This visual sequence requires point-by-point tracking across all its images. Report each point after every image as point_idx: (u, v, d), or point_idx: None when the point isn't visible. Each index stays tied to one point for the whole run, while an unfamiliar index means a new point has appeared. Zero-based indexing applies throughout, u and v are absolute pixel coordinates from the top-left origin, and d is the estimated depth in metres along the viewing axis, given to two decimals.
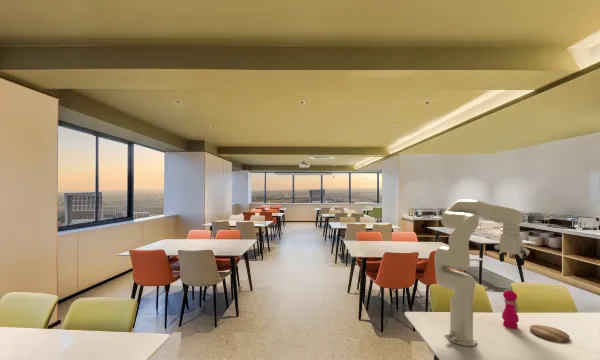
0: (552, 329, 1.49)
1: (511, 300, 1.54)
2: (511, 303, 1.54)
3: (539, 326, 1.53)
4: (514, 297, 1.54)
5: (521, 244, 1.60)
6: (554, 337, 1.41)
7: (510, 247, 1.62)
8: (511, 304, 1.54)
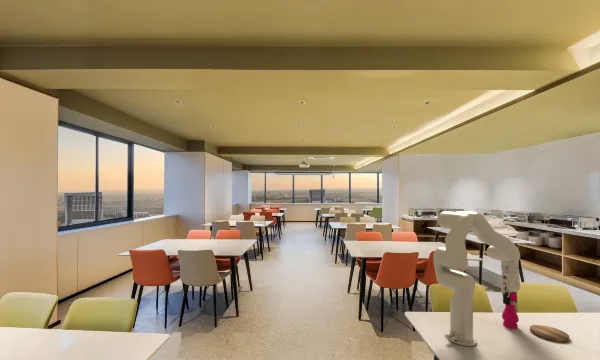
0: (552, 329, 1.49)
1: (511, 300, 1.54)
2: (511, 303, 1.54)
3: (539, 326, 1.53)
4: (514, 297, 1.54)
5: None
6: (554, 337, 1.41)
7: (516, 285, 1.55)
8: (511, 304, 1.54)
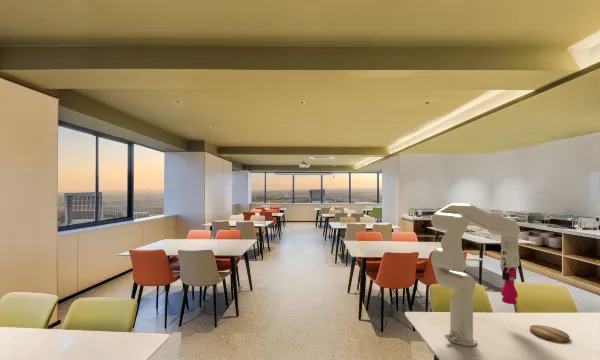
0: (552, 329, 1.49)
1: (510, 276, 1.55)
2: (510, 279, 1.55)
3: (539, 326, 1.53)
4: (513, 273, 1.54)
5: None
6: (554, 337, 1.41)
7: (515, 261, 1.55)
8: (510, 280, 1.55)
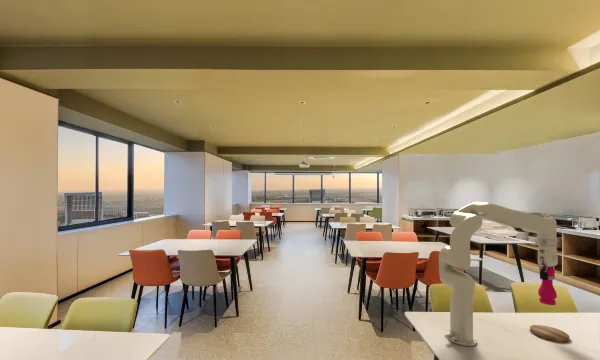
0: (552, 329, 1.49)
1: (549, 275, 1.46)
2: (549, 278, 1.46)
3: (539, 326, 1.53)
4: (552, 272, 1.46)
5: None
6: (554, 337, 1.41)
7: (554, 259, 1.47)
8: (549, 279, 1.46)
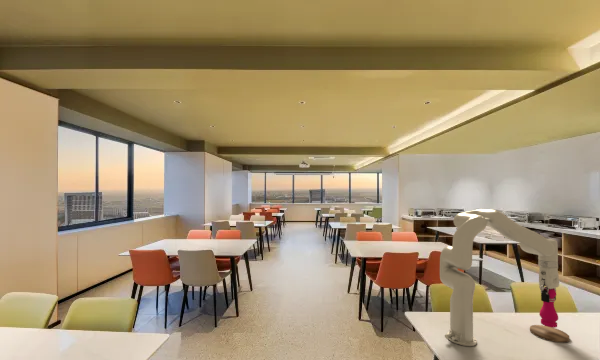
0: (552, 329, 1.49)
1: (550, 297, 1.46)
2: (550, 300, 1.46)
3: (539, 326, 1.53)
4: (553, 294, 1.45)
5: None
6: (554, 337, 1.41)
7: (555, 281, 1.46)
8: (550, 301, 1.46)
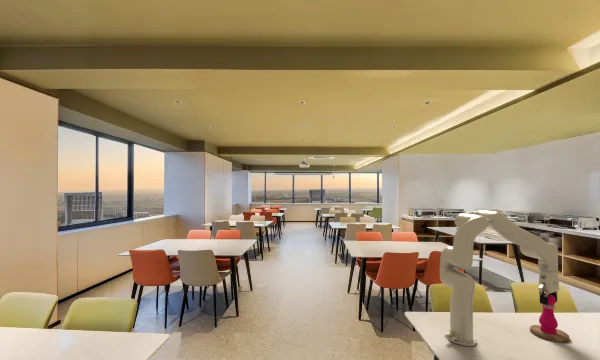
0: None
1: (550, 304, 1.45)
2: (550, 307, 1.45)
3: (539, 326, 1.53)
4: (553, 301, 1.45)
5: None
6: (554, 337, 1.41)
7: (555, 285, 1.46)
8: (550, 308, 1.45)
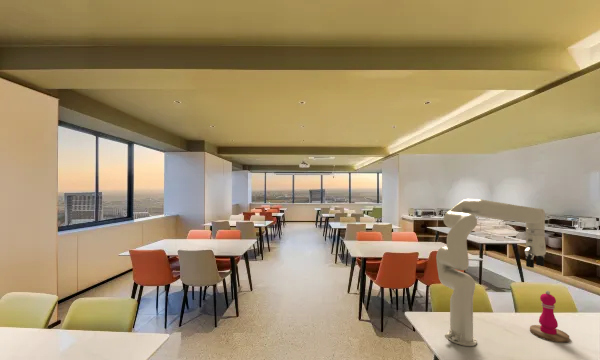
0: None
1: (550, 304, 1.45)
2: (550, 307, 1.45)
3: (539, 326, 1.53)
4: (553, 301, 1.45)
5: None
6: (554, 337, 1.41)
7: (542, 249, 1.49)
8: (550, 308, 1.45)
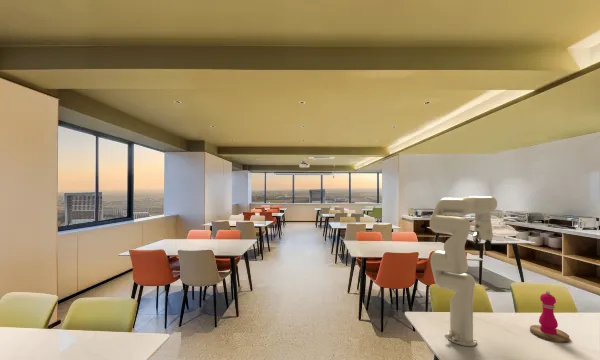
0: None
1: (550, 304, 1.45)
2: (550, 307, 1.45)
3: (539, 326, 1.53)
4: (553, 301, 1.45)
5: None
6: (554, 337, 1.41)
7: (488, 233, 1.63)
8: (550, 308, 1.46)
